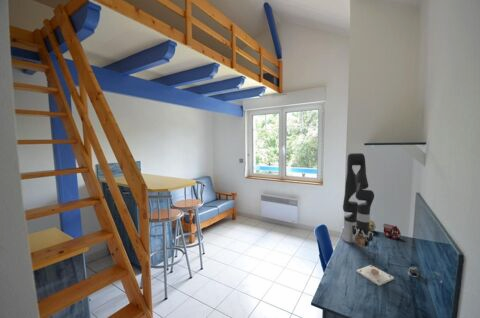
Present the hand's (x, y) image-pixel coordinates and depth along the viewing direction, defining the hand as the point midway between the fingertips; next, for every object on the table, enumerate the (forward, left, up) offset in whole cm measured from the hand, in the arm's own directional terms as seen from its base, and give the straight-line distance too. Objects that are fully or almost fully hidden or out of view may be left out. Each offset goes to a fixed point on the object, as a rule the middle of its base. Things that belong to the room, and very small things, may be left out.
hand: (361, 243), depth 141 cm
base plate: (+12, -4, -14) cm, 19 cm away
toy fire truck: (-16, +63, -14) cm, 66 cm away
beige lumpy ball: (-32, +57, -14) cm, 67 cm away
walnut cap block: (0, 0, -1) cm, 1 cm away
